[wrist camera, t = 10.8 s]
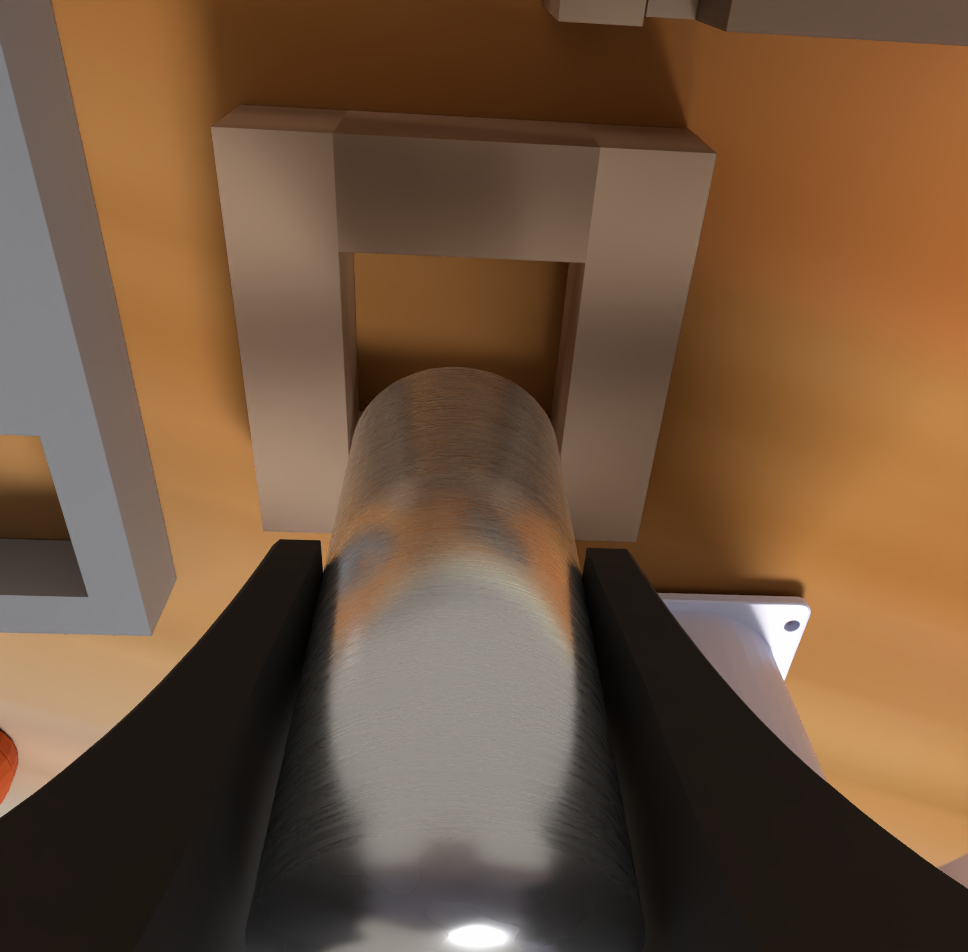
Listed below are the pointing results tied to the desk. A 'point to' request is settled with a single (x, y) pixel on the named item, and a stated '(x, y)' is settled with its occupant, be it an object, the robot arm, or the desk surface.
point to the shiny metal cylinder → (449, 703)
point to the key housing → (789, 17)
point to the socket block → (456, 233)
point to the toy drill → (7, 764)
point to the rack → (68, 365)
